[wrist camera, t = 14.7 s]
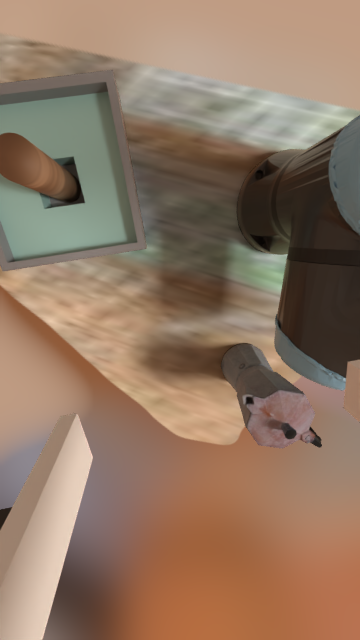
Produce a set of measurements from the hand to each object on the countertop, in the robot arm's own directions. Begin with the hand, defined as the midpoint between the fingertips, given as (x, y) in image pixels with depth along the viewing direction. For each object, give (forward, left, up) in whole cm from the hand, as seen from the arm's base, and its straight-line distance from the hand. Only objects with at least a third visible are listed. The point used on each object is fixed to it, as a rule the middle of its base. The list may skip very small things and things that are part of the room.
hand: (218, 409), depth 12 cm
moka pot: (-12, +18, -33) cm, 39 cm away
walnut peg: (+13, -17, -32) cm, 38 cm away
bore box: (+13, -17, -33) cm, 39 cm away
